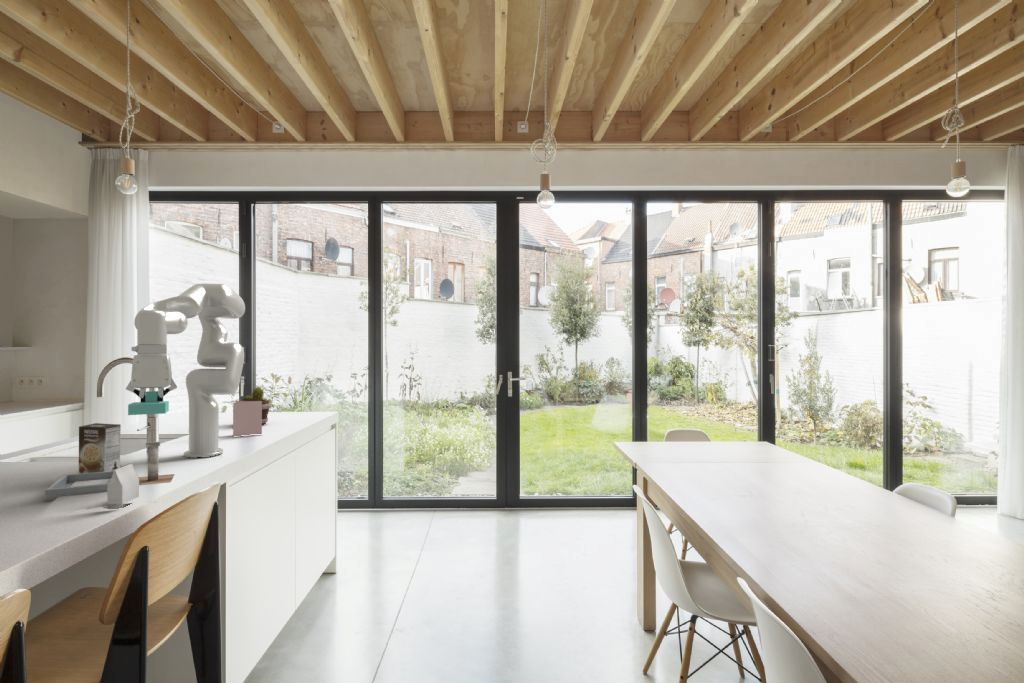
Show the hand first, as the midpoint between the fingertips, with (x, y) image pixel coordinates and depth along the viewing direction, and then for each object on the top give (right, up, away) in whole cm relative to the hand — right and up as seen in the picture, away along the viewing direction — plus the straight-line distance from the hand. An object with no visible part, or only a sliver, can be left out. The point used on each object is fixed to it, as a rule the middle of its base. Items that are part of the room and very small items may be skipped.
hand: (151, 409), depth 168 cm
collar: (+2, 0, -4) cm, 5 cm away
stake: (+4, -21, -5) cm, 22 cm away
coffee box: (-18, -21, +2) cm, 28 cm away
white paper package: (+9, -22, -25) cm, 34 cm away
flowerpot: (-15, -20, +99) cm, 102 cm away
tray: (-11, -21, -12) cm, 27 cm away
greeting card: (-5, -20, +70) cm, 73 cm away
